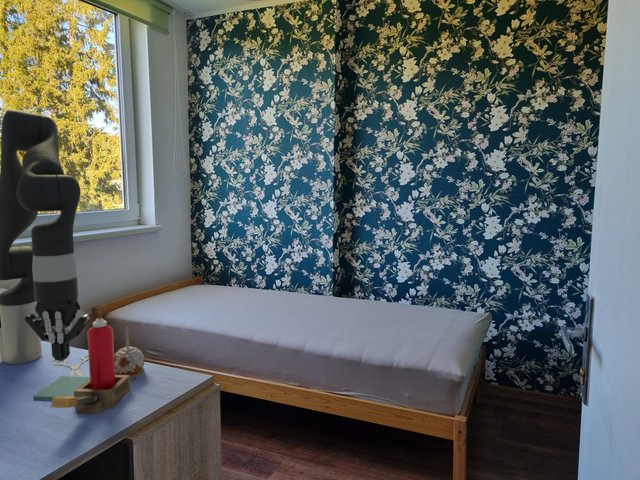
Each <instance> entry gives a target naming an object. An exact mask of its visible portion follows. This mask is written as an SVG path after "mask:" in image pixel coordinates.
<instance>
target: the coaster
mask: <svg viewBox="0 0 640 480" xmlns="http://www.w3.org/2000/svg"><path fill="white" fill-rule="evenodd" d="M88 379H90V376H83V377H80V376H73V377H70V376H64V375H61V376H59V377H58V379H55V381H53V382H51V383H50V384H49V385H47V386H45V387H44V388H42V390H39V392H37V393H36V394H34V395H33V396H32V398H33V400H36V401H37V400H40V401H43V400H45V401H52V398H55V397H74V391H75V390H76V389H77V388H78V387H80V386H81V385H82V384H83V383H85V382H86V381H87V380H88Z"/></svg>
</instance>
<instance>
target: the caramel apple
mask: <svg viewBox="0 0 640 480" xmlns="http://www.w3.org/2000/svg"><path fill="white" fill-rule="evenodd" d="M124 328H125V329H124V330H125V331H124V333H125V334H124V335H125V347H122V348H120V349H118V351H116V352H114V363H115V375H130V380H132V379H136V378H139V377H141V376H143V374H144V373H145V368H144V366H145V354H143V351H142V350H140V349H139V348H138V347H134V346H130V337H129V336H130V335H129V334H130V333H129V321H125V322H124Z"/></svg>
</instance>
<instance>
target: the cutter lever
mask: <svg viewBox="0 0 640 480" xmlns="http://www.w3.org/2000/svg"><path fill="white" fill-rule="evenodd" d="M98 399H99V397H98V396H80V397H55V398H52V400H51V404H50V408H63V409H65V408H66V409H70V408H76V407H75V406H78V405H83V404H88V403H93V402H97V401H98Z"/></svg>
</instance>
